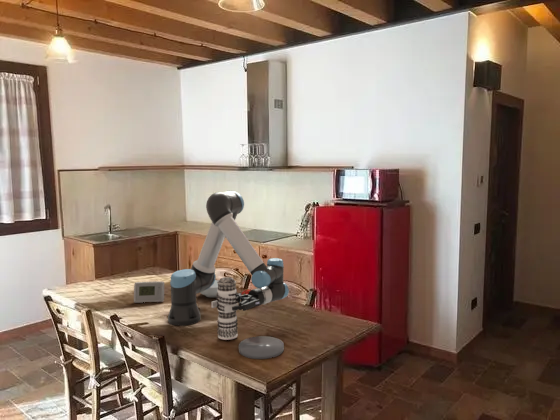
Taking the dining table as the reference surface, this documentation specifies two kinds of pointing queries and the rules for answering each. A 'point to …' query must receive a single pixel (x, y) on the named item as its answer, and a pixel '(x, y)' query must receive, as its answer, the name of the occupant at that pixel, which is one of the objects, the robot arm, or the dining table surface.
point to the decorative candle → (224, 298)
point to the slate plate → (261, 347)
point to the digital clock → (149, 292)
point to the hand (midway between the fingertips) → (218, 307)
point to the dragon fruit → (245, 291)
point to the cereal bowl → (211, 290)
